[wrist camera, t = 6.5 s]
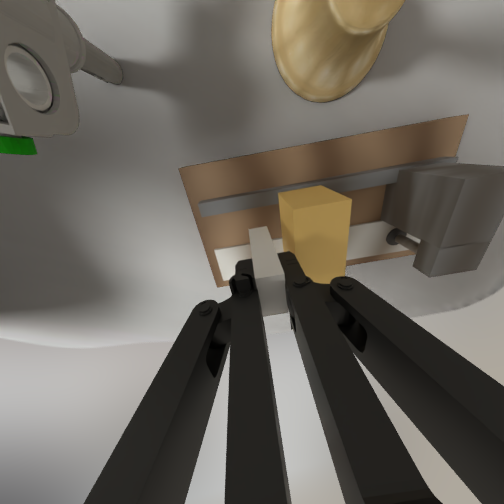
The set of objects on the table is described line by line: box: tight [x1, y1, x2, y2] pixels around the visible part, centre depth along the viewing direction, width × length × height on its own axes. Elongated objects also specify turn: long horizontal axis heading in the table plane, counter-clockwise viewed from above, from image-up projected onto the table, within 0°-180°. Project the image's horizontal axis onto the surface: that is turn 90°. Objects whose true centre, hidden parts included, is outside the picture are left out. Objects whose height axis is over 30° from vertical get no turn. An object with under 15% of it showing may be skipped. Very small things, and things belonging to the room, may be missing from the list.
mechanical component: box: [0, 0, 123, 155], centre depth 9 cm, size 3×10×10 cm, turn 170°
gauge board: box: [179, 114, 504, 287], centre depth 16 cm, size 24×13×8 cm, turn 99°
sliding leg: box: [278, 185, 352, 284], centre depth 16 cm, size 4×8×6 cm, turn 10°
